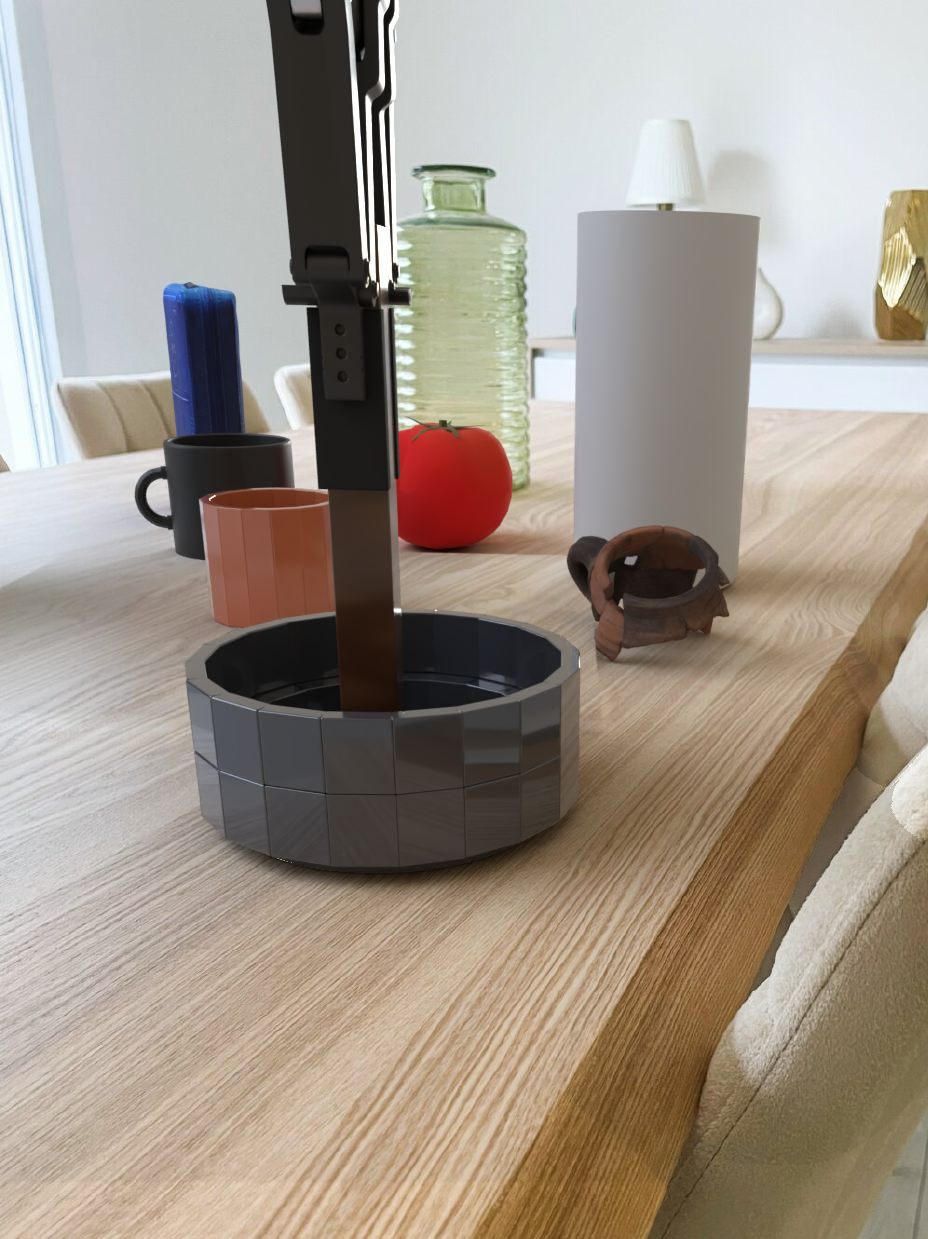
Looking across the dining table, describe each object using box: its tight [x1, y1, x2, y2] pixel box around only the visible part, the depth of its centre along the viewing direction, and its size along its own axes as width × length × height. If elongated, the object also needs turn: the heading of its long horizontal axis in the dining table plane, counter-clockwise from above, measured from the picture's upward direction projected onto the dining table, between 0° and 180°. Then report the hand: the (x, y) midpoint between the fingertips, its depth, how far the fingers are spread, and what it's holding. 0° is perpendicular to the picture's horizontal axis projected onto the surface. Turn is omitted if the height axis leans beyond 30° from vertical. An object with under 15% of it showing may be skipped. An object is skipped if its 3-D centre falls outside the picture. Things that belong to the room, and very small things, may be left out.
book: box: [162, 281, 247, 437], centre depth 111 cm, size 14×5×20 cm, turn 25°
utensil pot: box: [199, 487, 335, 629], centre depth 76 cm, size 8×8×8 cm
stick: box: [315, 224, 405, 712], centre depth 49 cm, size 2×2×20 cm
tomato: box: [396, 416, 514, 550], centre depth 101 cm, size 12×12×10 cm
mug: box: [134, 432, 296, 561], centre depth 94 cm, size 9×12×9 cm
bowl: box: [183, 608, 582, 875], centre depth 50 cm, size 16×16×6 cm
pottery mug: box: [566, 525, 731, 662], centre depth 74 cm, size 12×10×8 cm
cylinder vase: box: [572, 209, 762, 590], centre depth 87 cm, size 12×12×25 cm
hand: (360, 481), depth 48 cm, fingers closed on stick, 2 cm apart
